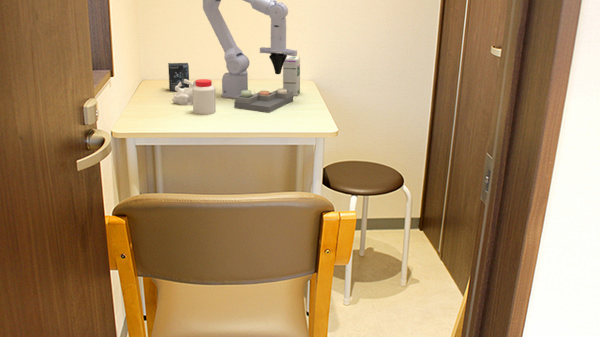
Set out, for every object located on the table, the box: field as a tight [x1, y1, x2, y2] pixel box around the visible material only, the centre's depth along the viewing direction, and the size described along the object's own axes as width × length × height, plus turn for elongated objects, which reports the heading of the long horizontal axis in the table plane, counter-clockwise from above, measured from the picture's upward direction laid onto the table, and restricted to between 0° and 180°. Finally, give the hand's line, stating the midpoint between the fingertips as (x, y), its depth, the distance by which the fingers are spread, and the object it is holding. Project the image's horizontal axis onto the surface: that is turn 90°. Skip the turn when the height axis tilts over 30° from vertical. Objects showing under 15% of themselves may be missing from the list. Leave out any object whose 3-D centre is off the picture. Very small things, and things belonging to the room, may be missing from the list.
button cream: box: [276, 88, 287, 93], centre depth 225 cm, size 4×4×2 cm
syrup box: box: [282, 56, 301, 97], centre depth 236 cm, size 6×6×14 cm
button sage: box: [241, 90, 252, 98], centre depth 217 cm, size 4×4×2 cm
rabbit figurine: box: [171, 79, 196, 106], centre depth 219 cm, size 12×8×10 cm, turn 102°
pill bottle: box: [192, 78, 217, 116], centre depth 208 cm, size 8×8×11 cm
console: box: [233, 89, 294, 114], centre depth 222 cm, size 14×20×4 cm
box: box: [167, 62, 190, 92], centre depth 239 cm, size 8×6×11 cm
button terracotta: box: [259, 90, 270, 96], centre depth 221 cm, size 4×4×2 cm
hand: (278, 73), depth 226 cm, fingers closed
